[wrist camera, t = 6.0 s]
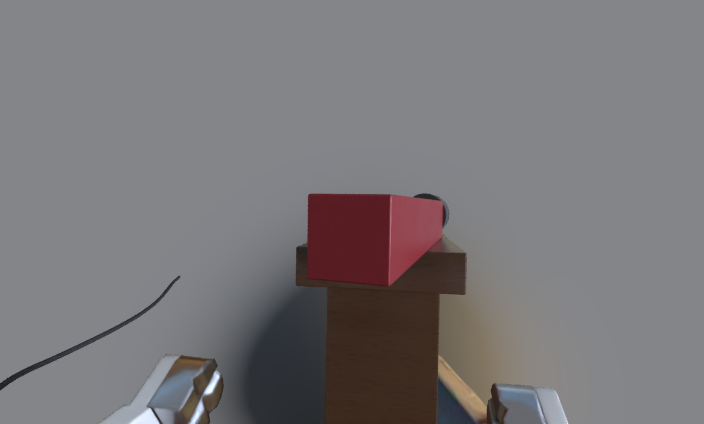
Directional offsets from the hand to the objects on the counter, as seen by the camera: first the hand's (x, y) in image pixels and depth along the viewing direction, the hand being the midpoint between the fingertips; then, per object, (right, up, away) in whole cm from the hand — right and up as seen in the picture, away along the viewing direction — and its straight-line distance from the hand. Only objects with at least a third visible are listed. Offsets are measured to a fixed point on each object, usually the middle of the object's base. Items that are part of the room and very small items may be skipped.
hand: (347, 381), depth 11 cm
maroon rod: (+4, +3, +12) cm, 13 cm away
